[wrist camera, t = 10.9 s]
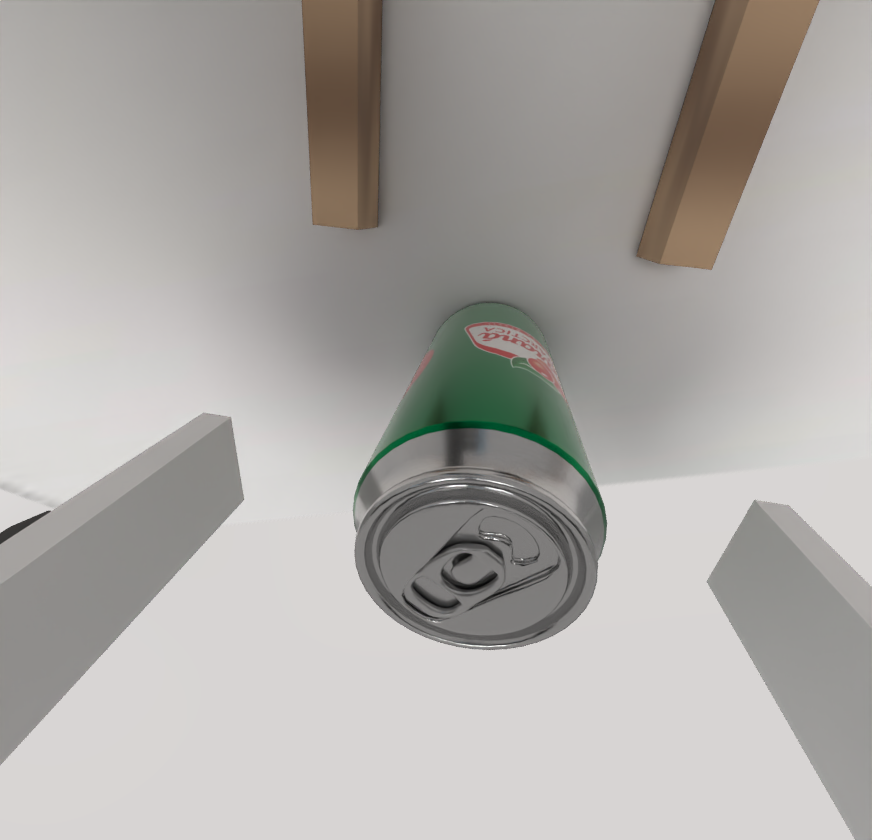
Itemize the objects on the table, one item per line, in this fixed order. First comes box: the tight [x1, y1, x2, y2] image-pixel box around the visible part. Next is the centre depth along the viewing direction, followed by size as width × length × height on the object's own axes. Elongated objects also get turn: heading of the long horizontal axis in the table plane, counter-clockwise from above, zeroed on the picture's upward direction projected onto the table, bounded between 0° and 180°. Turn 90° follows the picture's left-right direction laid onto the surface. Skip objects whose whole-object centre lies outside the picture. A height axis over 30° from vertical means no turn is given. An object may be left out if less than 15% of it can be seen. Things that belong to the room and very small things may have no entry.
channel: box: [302, 0, 819, 270], centre depth 12 cm, size 8×13×2 cm, turn 85°
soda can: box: [353, 303, 607, 650], centre depth 12 cm, size 5×5×12 cm
